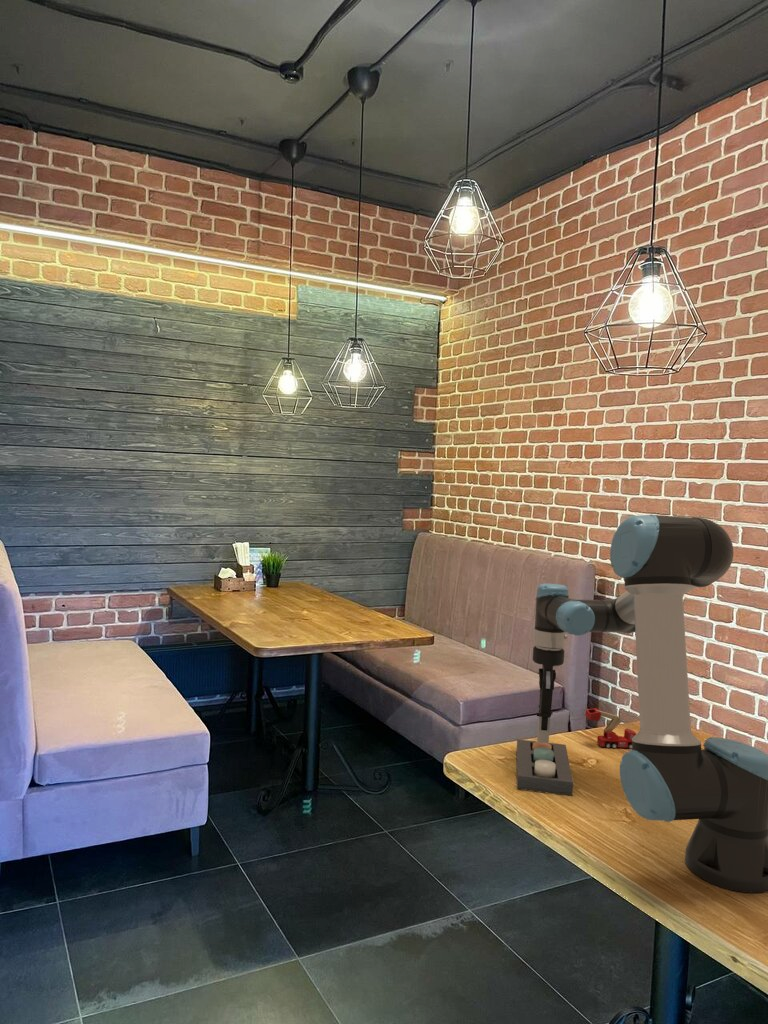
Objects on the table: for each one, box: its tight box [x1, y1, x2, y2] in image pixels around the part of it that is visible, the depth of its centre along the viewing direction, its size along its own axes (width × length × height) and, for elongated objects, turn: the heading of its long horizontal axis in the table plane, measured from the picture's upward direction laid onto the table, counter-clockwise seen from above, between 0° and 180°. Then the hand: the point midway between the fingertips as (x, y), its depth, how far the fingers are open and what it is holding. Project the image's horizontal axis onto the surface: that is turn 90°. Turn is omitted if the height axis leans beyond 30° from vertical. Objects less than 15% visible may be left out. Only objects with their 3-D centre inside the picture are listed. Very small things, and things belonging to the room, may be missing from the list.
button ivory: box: [534, 760, 556, 778], centre depth 171 cm, size 5×5×3 cm
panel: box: [515, 738, 574, 797], centre depth 179 cm, size 24×12×3 cm, turn 170°
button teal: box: [533, 748, 554, 763], centre depth 179 cm, size 5×5×3 cm
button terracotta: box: [532, 742, 552, 751], centre depth 187 cm, size 5×5×3 cm
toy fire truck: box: [585, 707, 637, 750], centre depth 199 cm, size 3×14×10 cm, turn 94°
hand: (542, 741), depth 187 cm, fingers closed
